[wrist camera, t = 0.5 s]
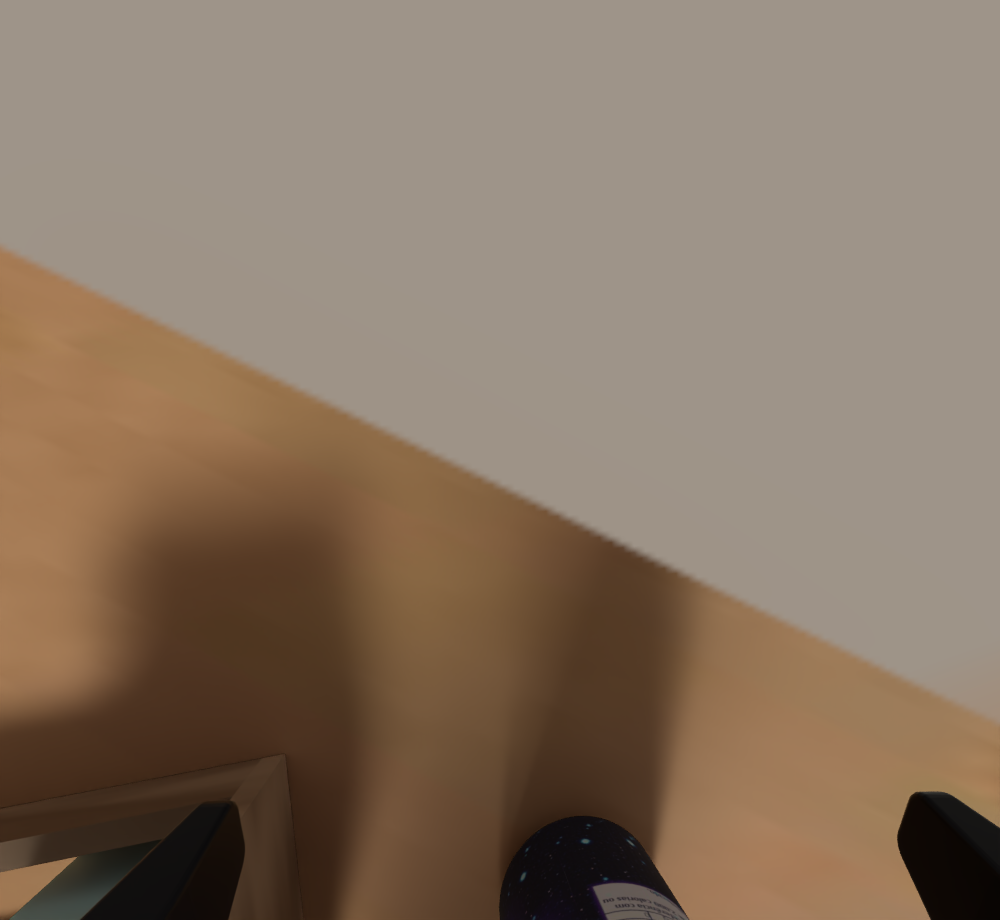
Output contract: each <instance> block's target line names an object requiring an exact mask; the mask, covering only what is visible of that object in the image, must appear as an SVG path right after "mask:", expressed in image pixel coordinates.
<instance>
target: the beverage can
mask: <svg viewBox="0 0 1000 920" xmlns="http://www.w3.org/2000/svg"><path fill="white" fill-rule="evenodd" d="M499 912H500V920H689V918H688V917H687V915H686V914H685V912H684V910H683V909H682V907H681V906H680V904H679V903H678V901H677V900H676V898H675V896H674V895H673V893H672V892H671V890H670V889H669V887H668V885H667V884H666V882H665V881H664V879H663V878H662V876H661V875H660V873H659V871H658V870H657V868H656V867H655V865H654V864H653V862H652V860H651V859H650V857H649V856H648V854H647V853H646V851H645V850H644V848H643V847H642V845H641V844H640V843H639V842H638V841H637V840H636V839H635V838H634V837H633V836H632V835H631V834H630V833H629V832H628V831H626V830H625V829H624V828H622V827H620V826H619V825H617V824H615V823H613V822H610V821H608V820H605V819H602V818H597V817H591V816H575V817H569V818H564V819H561V820H558V821H555V822H553V823H551V824H549V825H547V826H545V827H543V828H542V829H540V830H539V831H537V832H536V833H535V834H533V835H532V836H531V837H530V838H529V839H528V840H527V841H526V842H525V843H524V844H523V845H522V846H521V848H520V849H519V850H518V852H517V853H516V855H515V856H514V858H513V859H512V861H511V863H510V865H509V867H508V869H507V872H506V874H505V877H504V880H503V884H502V888H501V894H500V903H499Z"/></svg>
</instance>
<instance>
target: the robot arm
mask: <svg viewBox="0 0 1000 920" xmlns="http://www.w3.org/2000/svg"><path fill="white" fill-rule="evenodd" d="M897 841H898V847H899V851H900V854H901V856H902V859H903V861H904V863H905V865H906V867H907V869H908V872H909V874H910V876H911V878H912V880H913V882H914V884H915V887H916V889H917V891H918V893H919V895H920V897H921V900H922V902H923V904H924V906H925V908H926V910H927V912H928V915H929V917H930V919H931V920H1000V828H999V827H998V826H996V825H995V824H993V823H992V822H990V821H989V820H988V819H986V818H985V817H983V816H982V815H980V814H979V813H977V812H976V811H974V810H973V809H971V808H970V807H968V806H967V805H966V804H964V803H963V802H961V801H960V800H958V799H957V798H955V797H953V796H952V795H950V794H948V793H945V792H915V793H914V794H912V795H911V796H910V798H909V801H908V804H907V807H906V810H905V812H904V815H903V818H902V821H901V824H900V827H899V830H898V834H897ZM244 858H245V840H244V834H243V829H242V824H241V819H240V814H239V809H238V806H237V804H236V803H235V802H234V801H231V800H209V801H205V802H203V803H201V804H199V805H198V806H197V807H196V808H195V809H194V810H193V811H192V812H190V813H189V814H188V815H187V816H186V817H185V818H184V819H183V820H182V821H181V822H180V823H179V824H178V825H177V826H176V827H175V828H174V829H173V830H172V831H171V832H170V833H169V834H168V835H167V836H166V837H165V838H164V839H163V840H162V841H160V842H159V843H158V844H157V845H156V846H155V847H154V848H153V849H152V850H151V851H150V852H149V853H148V854H147V855H146V856H145V857H144V858H143V859H142V860H141V861H140V862H139V863H138V864H137V865H136V866H135V867H134V868H133V869H132V870H130V871H129V872H128V873H127V874H126V875H125V876H124V877H123V878H122V879H121V880H120V881H119V882H118V883H117V884H116V885H115V886H114V887H113V888H112V889H111V890H110V891H109V892H108V893H107V894H106V895H105V896H104V897H103V898H102V899H100V900H99V901H98V902H97V903H96V904H95V905H94V906H93V907H92V908H91V909H90V910H89V911H88V912H87V913H86V914H85V915H84V916H83V917H82V918H81V919H80V920H228V919H229V916H230V912H231V908H232V904H233V901H234V897H235V893H236V890H237V886H238V882H239V879H240V875H241V871H242V868H243V863H244Z"/></svg>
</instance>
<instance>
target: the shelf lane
mask: <svg viewBox="0 0 1000 920" xmlns="http://www.w3.org/2000/svg"><path fill="white" fill-rule="evenodd" d="M209 800H231V801H234V802H235V803H236V804H237V806H238V809H239V814H240V819H241V824H242V829H243V834H244V840H245V858H244V863H243V868H242V871H241V875H240V879H239V882H238V886H237V890H236V893H235V897H234V901H233V904H232V908H231V912H230V916H229V919H228V920H304V919H303V910H302V901H301V892H300V883H299V874H298V865H297V856H296V847H295V838H294V829H293V820H292V811H291V802H290V793H289V783H288V774H287V765H286V756H285V754H281V755H276V756H271V757H266V758H261V759H255V760H250V761H245V762H240V763H235V764H229V765H224V766H219V767H214V768H209V769H203V770H198V771H193V772H188V773H183V774H177V775H172V776H167V777H162V778H157V779H152V780H146V781H141V782H136V783H131V784H126V785H120V786H115V787H110V788H105V789H100V790H94V791H89V792H84V793H79V794H74V795H68V796H63V797H58V798H53V799H48V800H43V801H37V802H32V803H27V804H22V805H17V806H11V807H6V808H1V809H0V872H4V871H9V870H14V869H18V868H23V867H28V866H33V865H38V864H43V863H48V862H53V861H58V860H62V859H67V858H72V857H77V856H82V855H87V854H92V853H97V852H102V851H107V850H111V849H116V848H121V847H126V846H131V845H136V844H141V843H146V842H151V841H155V840H160V839H164V838H165V837H166V836H167V835H168V834H169V833H170V832H171V831H172V830H173V829H174V828H175V827H176V826H177V825H178V824H179V823H180V822H181V821H182V820H183V819H184V818H185V817H186V816H187V815H188V814H189V813H190V812H192V811H193V810H194V809H195V808H196V807H197V806H198V805H199V804H201V803H203V802H205V801H209Z"/></svg>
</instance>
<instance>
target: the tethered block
mask: <svg viewBox="0 0 1000 920" xmlns="http://www.w3.org/2000/svg"><path fill="white" fill-rule="evenodd" d="M162 840H163V839H160V840H155V841H151V842H146V843H141V844H136V845H131V846H126V847H121V848H116V849H111V850H107V851H102V852H97V853H92V854H87V855H82V856H78V857H77V858H76V859H75V860H74V861H73V862H72V863H71V864H70V865H68V866H67V867H66V868H65V869H64V870H63V871H62V872H61V873H60V874H59V875H57V876H56V877H55V878H54V879H53V880H52V881H51V882H50V883H49V884H48V885H46V886H45V887H44V888H43V889H42V890H41V891H40V892H39V893H38V894H37V895H35V896H34V897H33V898H32V899H31V900H30V901H29V902H28V903H27V904H26V905H24V906H23V907H22V908H21V909H20V910H19V911H18V912H17V913H16V914H15V915H14V916H12V917H11V918H10V919H9V920H80V919H81V918H82V917H83V916H84V915H85V914H86V913H87V912H88V911H89V910H90V909H91V908H92V907H93V906H94V905H95V904H96V903H97V902H98V901H99V900H100V899H102V898H103V897H104V896H105V895H106V894H107V893H108V892H109V891H110V890H111V889H112V888H113V887H114V886H115V885H116V884H117V883H118V882H119V881H120V880H121V879H122V878H123V877H124V876H125V875H126V874H127V873H128V872H129V871H130V870H132V869H133V868H134V867H135V866H136V865H137V864H138V863H139V862H140V861H141V860H142V859H143V858H144V857H145V856H146V855H147V854H148V853H149V852H150V851H151V850H152V849H153V848H154V847H155V846H156V845H157V844H158V843H159V842H160V841H162Z"/></svg>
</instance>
